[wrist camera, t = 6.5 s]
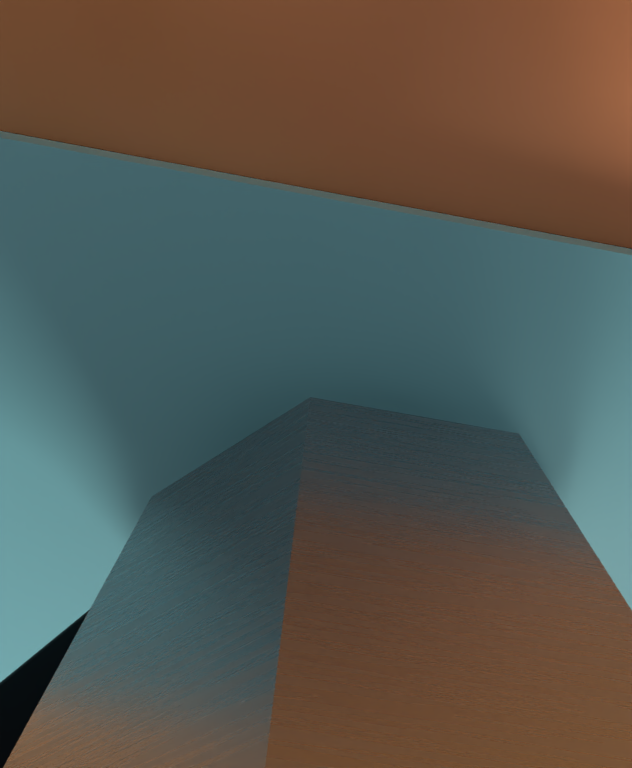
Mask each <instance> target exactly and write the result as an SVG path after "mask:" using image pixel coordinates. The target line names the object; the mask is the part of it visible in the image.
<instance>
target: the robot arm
mask: <svg viewBox="0 0 632 768" xmlns="http://www.w3.org/2000/svg"><path fill="white" fill-rule="evenodd" d="M89 610H90V609H89ZM89 610H88V611H87V612H86V613H84V614H83V615H82V616H81V617H79V618H78V619H77V620H76V621H75V622H73V623H72V624H71V625H70V626H68V627H67V628H66V629H65V630H64V631H62V632H61V633H60V634H59V635H57V636H56V637H55V638H54V639H53V640H51V641H50V642H49V643H48V644H46V645H45V646H44V647H43V648H42V649H40V650H39V651H38V652H37V653H35V654H34V655H33V656H32V657H31V658H29V659H28V660H27V661H26V662H24V663H23V664H22V665H21V666H20V667H18V668H17V669H16V670H15V671H13V672H12V673H11V674H10V675H9V676H7V677H6V678H5V679H4V680H2V681H1V682H0V768H3V767H4V765H5V763H6V761H7V759H8V758H9V756H10V754H11V752H12V750H13V749H14V747H15V745H16V743H17V741H18V739H19V738H20V736H21V734H22V732H23V730H24V728H25V727H26V725H27V723H28V721H29V719H30V717H31V716H32V714H33V712H34V710H35V708H36V707H37V705H38V703H39V701H40V699H41V697H42V696H43V694H44V692H45V690H46V688H47V686H48V685H49V683H50V681H51V679H52V677H53V676H54V674H55V672H56V670H57V668H58V666H59V665H60V663H61V661H62V659H63V657H64V655H65V654H66V652H67V650H68V648H69V646H70V644H71V643H72V641H73V639H74V637H75V635H76V634H77V632H78V630H79V628H80V626H81V624H82V623H83V621H84V619H85V617H86V615H87V613H88V612H89Z"/></svg>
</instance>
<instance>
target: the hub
mask: <svg viewBox="0 0 632 768" xmlns="http://www.w3.org/2000/svg"><path fill="white" fill-rule="evenodd" d="M3 768H632V610H631V609H630V607H629V605H628V604H627V602H626V601H625V599H624V598H623V596H622V594H621V593H620V591H619V590H618V588H617V587H616V585H615V583H614V582H613V580H612V579H611V577H610V576H609V574H608V572H607V571H606V569H605V568H604V566H603V565H602V563H601V561H600V560H599V558H598V557H597V555H596V554H595V552H594V550H593V549H592V547H591V546H590V544H589V543H588V541H587V539H586V538H585V536H584V535H583V533H582V532H581V530H580V528H579V527H578V525H577V524H576V522H575V521H574V519H573V517H572V516H571V514H570V513H569V511H568V510H567V508H566V507H565V505H564V503H563V502H562V500H561V499H560V497H559V496H558V494H557V492H556V491H555V489H554V488H553V486H552V485H551V483H550V481H549V480H548V478H547V477H546V475H545V474H544V472H543V470H542V469H541V467H540V466H539V464H538V463H537V461H536V459H535V458H534V456H533V455H532V453H531V452H530V450H529V448H528V447H527V445H526V444H525V442H524V441H523V439H522V437H521V436H520V434H519V433H513V432H507V431H502V430H496V429H490V428H484V427H479V426H473V425H467V424H462V423H456V422H450V421H444V420H439V419H433V418H427V417H422V416H416V415H410V414H404V413H399V412H393V411H387V410H382V409H376V408H370V407H364V406H359V405H353V404H347V403H342V402H336V401H330V400H324V399H319V398H313V397H310V398H308V399H306V400H305V401H303V402H302V403H300V404H298V405H297V406H295V407H294V408H292V409H290V410H289V411H287V412H286V413H284V414H282V415H281V416H279V417H278V418H276V419H274V420H273V421H271V422H270V423H268V424H267V425H265V426H263V427H262V428H260V429H259V430H257V431H255V432H254V433H252V434H251V435H249V436H247V437H246V438H244V439H243V440H241V441H239V442H238V443H236V444H235V445H233V446H231V447H230V448H228V449H227V450H225V451H223V452H222V453H220V454H219V455H217V456H215V457H214V458H212V459H211V460H209V461H207V462H206V463H204V464H203V465H201V466H200V467H198V468H196V469H195V470H193V471H192V472H190V473H188V474H187V475H185V476H184V477H182V478H180V479H179V480H177V481H176V482H174V483H172V484H171V485H169V486H168V487H166V488H164V489H163V490H161V491H160V492H158V493H156V494H155V495H153V496H152V497H151V498H150V500H149V502H148V504H147V506H146V508H145V509H144V511H143V513H142V515H141V517H140V519H139V520H138V522H137V524H136V526H135V528H134V530H133V531H132V533H131V535H130V537H129V539H128V540H127V542H126V544H125V546H124V548H123V550H122V551H121V553H120V555H119V557H118V559H117V561H116V562H115V564H114V566H113V568H112V570H111V571H110V573H109V575H108V577H107V579H106V581H105V582H104V584H103V586H102V588H101V590H100V592H99V593H98V595H97V597H96V599H95V601H94V603H93V604H92V606H91V608H90V610H89V612H88V613H87V615H86V617H85V619H84V621H83V623H82V624H81V626H80V628H79V630H78V632H77V634H76V635H75V637H74V639H73V641H72V643H71V644H70V646H69V648H68V650H67V652H66V654H65V655H64V657H63V659H62V661H61V663H60V665H59V666H58V668H57V670H56V672H55V674H54V676H53V677H52V679H51V681H50V683H49V685H48V686H47V688H46V690H45V692H44V694H43V696H42V697H41V699H40V701H39V703H38V705H37V707H36V708H35V710H34V712H33V714H32V716H31V717H30V719H29V721H28V723H27V725H26V727H25V728H24V730H23V732H22V734H21V736H20V738H19V739H18V741H17V743H16V745H15V747H14V749H13V750H12V752H11V754H10V756H9V758H8V759H7V761H6V763H5V765H4V767H3Z"/></svg>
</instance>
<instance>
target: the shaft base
mask: <svg viewBox="0 0 632 768" xmlns="http://www.w3.org/2000/svg"><path fill="white" fill-rule="evenodd" d="M310 397H313V398H319V399H324V400H330V401H336V402H342V403H347V404H353V405H359V406H364V407H370V408H376V409H382V410H387V411H393V412H399V413H404V414H410V415H416V416H422V417H427V418H433V419H439V420H444V421H450V422H456V423H462V424H467V425H473V426H479V427H484V428H490V429H496V430H502V431H507V432H513V433H519V434H520V436H521V437H522V439H523V441H524V442H525V444H526V445H527V447H528V448H529V450H530V452H531V453H532V455H533V456H534V458H535V459H536V461H537V463H538V464H539V466H540V467H541V469H542V470H543V472H544V474H545V475H546V477H547V478H548V480H549V481H550V483H551V485H552V486H553V488H554V489H555V491H556V492H557V494H558V496H559V497H560V499H561V500H562V502H563V503H564V505H565V507H566V508H567V510H568V511H569V513H570V514H571V516H572V517H573V519H574V521H575V522H576V524H577V525H578V527H579V528H580V530H581V532H582V533H583V535H584V536H585V538H586V539H587V541H588V543H589V544H590V546H591V547H592V549H593V550H594V552H595V554H596V555H597V557H598V558H599V560H600V561H601V563H602V565H603V566H604V568H605V569H606V571H607V572H608V574H609V576H610V577H611V579H612V580H613V582H614V583H615V585H616V587H617V588H618V590H619V591H620V593H621V594H622V596H623V598H624V599H625V601H626V602H627V604H628V605H629V607H630V609H631V610H632V249H630V248H625V247H619V246H614V245H609V244H603V243H598V242H592V241H587V240H582V239H576V238H571V237H566V236H560V235H555V234H550V233H544V232H539V231H534V230H528V229H523V228H518V227H512V226H507V225H501V224H496V223H491V222H485V221H480V220H475V219H469V218H464V217H459V216H453V215H448V214H443V213H437V212H432V211H427V210H421V209H416V208H410V207H405V206H400V205H394V204H389V203H384V202H378V201H373V200H368V199H362V198H357V197H352V196H346V195H341V194H336V193H330V192H325V191H319V190H314V189H309V188H303V187H298V186H293V185H287V184H282V183H277V182H271V181H266V180H261V179H255V178H250V177H245V176H239V175H234V174H228V173H223V172H218V171H212V170H207V169H202V168H196V167H191V166H186V165H180V164H175V163H170V162H164V161H159V160H154V159H148V158H143V157H138V156H132V155H127V154H121V153H116V152H111V151H105V150H100V149H95V148H89V147H84V146H79V145H73V144H68V143H63V142H57V141H52V140H47V139H41V138H36V137H30V136H25V135H20V134H14V133H9V132H4V131H0V682H1V681H2V680H4V679H5V678H6V677H7V676H9V675H10V674H11V673H12V672H13V671H15V670H16V669H17V668H18V667H20V666H21V665H22V664H23V663H24V662H26V661H27V660H28V659H29V658H31V657H32V656H33V655H34V654H35V653H37V652H38V651H39V650H40V649H42V648H43V647H44V646H45V645H46V644H48V643H49V642H50V641H51V640H53V639H54V638H55V637H56V636H57V635H59V634H60V633H61V632H62V631H64V630H65V629H66V628H67V627H68V626H70V625H71V624H72V623H73V622H75V621H76V620H77V619H78V618H79V617H81V616H82V615H83V614H84V613H86V612H87V611H88V610H89V609H90V608H91V606H92V604H93V603H94V601H95V599H96V597H97V595H98V593H99V592H100V590H101V588H102V586H103V584H104V582H105V581H106V579H107V577H108V575H109V573H110V571H111V570H112V568H113V566H114V564H115V562H116V561H117V559H118V557H119V555H120V553H121V551H122V550H123V548H124V546H125V544H126V542H127V540H128V539H129V537H130V535H131V533H132V531H133V530H134V528H135V526H136V524H137V522H138V520H139V519H140V517H141V515H142V513H143V511H144V509H145V508H146V506H147V504H148V502H149V500H150V498H151V497H152V496H153V495H155V494H156V493H158V492H160V491H161V490H163V489H164V488H166V487H168V486H169V485H171V484H172V483H174V482H176V481H177V480H179V479H180V478H182V477H184V476H185V475H187V474H188V473H190V472H192V471H193V470H195V469H196V468H198V467H200V466H201V465H203V464H204V463H206V462H207V461H209V460H211V459H212V458H214V457H215V456H217V455H219V454H220V453H222V452H223V451H225V450H227V449H228V448H230V447H231V446H233V445H235V444H236V443H238V442H239V441H241V440H243V439H244V438H246V437H247V436H249V435H251V434H252V433H254V432H255V431H257V430H259V429H260V428H262V427H263V426H265V425H267V424H268V423H270V422H271V421H273V420H274V419H276V418H278V417H279V416H281V415H282V414H284V413H286V412H287V411H289V410H290V409H292V408H294V407H295V406H297V405H298V404H300V403H302V402H303V401H305V400H306V399H308V398H310Z"/></svg>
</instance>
